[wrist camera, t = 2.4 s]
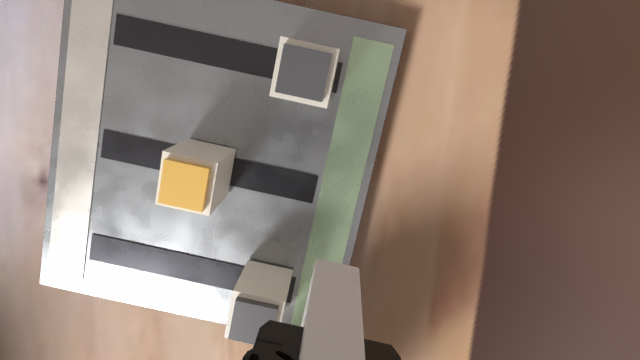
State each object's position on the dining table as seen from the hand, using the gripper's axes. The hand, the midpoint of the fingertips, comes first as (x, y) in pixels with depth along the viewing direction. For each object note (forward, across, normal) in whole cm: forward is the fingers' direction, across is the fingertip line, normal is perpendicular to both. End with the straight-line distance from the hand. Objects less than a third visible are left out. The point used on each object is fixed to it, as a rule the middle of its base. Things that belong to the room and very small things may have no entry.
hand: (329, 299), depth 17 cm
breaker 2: (+14, -3, +7) cm, 16 cm away
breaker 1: (+14, -3, -7) cm, 16 cm away
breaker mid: (+14, -8, 0) cm, 16 cm away
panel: (+16, -8, 0) cm, 18 cm away
